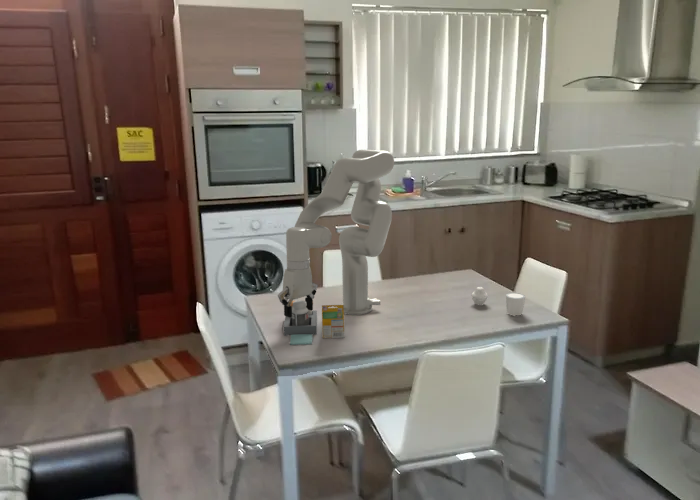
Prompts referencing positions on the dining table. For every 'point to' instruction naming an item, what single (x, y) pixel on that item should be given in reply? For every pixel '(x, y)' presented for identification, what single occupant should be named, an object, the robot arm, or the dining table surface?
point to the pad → (301, 339)
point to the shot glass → (515, 303)
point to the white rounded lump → (479, 296)
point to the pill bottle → (300, 313)
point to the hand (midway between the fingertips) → (298, 312)
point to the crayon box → (333, 321)
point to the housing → (301, 329)
